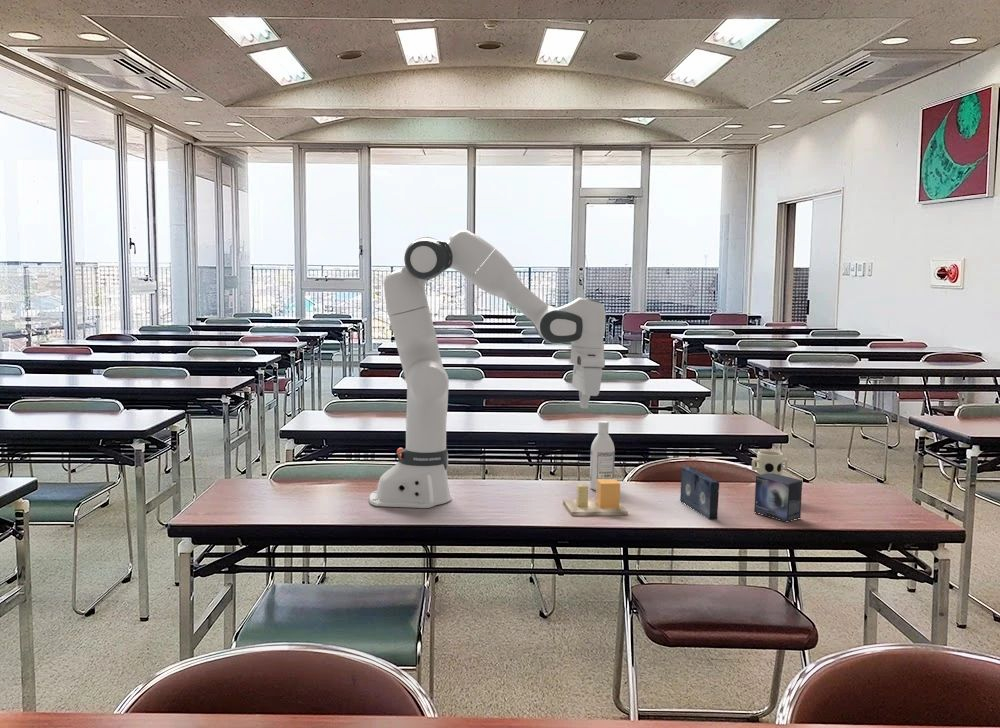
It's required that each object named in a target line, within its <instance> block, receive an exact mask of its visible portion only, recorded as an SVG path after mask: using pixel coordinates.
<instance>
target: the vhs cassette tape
mask: <svg viewBox="0 0 1000 728" xmlns="http://www.w3.org/2000/svg"><path fill="white" fill-rule="evenodd" d="M719 490H720V482H719V481H717V480H715V479H713V478H712V477H710V476H708V475H706V474H704V473H702V472H701V471H698V470H696V469H694V468H692V467H690V466H682V467H681V476H680V494H679V495H680V497H679V502H680V501H681V502H680V503H682V502H683V503H682V504H684V503H685V504H686V505H685V504H684V505H685V506H687V505H688V506H689V507H688V506H687V507H688V508H690V507H691V508H692V509H691V508H690V509H691V510H693V509H694V510H693V511H695V512H696V511H697V512H696V513H698V512H699V513H700V514H699V513H698V514H699V515H701V514H702V515H701V516H703V517H704V516H705V517H704V518H706V519H707V518H708V520H718V510H719V495H720V492H719Z"/></svg>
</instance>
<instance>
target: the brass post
mask: <svg viewBox="0 0 1000 728" xmlns="http://www.w3.org/2000/svg"><path fill="white" fill-rule="evenodd" d="M575 498H576V499H575V500H576V505H577V506H578V507H588V500H589V486H588V484H587V483H585V484H582V483H580V484H578V483H577V484H576V497H575Z"/></svg>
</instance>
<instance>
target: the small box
mask: <svg viewBox="0 0 1000 728" xmlns="http://www.w3.org/2000/svg"><path fill="white" fill-rule="evenodd" d="M754 490H755V491H754V509H753V512H756V513H760V514H763V515H767V516H770V517H774V518H777V519H780V520H783V521H791V520H794V519H798V518H801V519H802V517H801V515H802V513H801V512H802V511H801V510H802V494H803V493H802V492H803V491H802V490H803V480H802V479H799V478H794V477H790V476H785V475H782V474H781V475H778V474H774V473H766V474H762V475H760V474H757V475H755V489H754ZM756 513H755V514H756ZM760 514H759V515H760ZM763 515H762V516H763ZM767 516H766V517H767ZM770 517H769V518H770ZM777 519H776V520H777ZM780 520H779V521H780ZM798 520H799V519H798ZM783 521H782V522H783ZM791 522H792V521H791Z"/></svg>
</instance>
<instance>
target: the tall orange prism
mask: <svg viewBox="0 0 1000 728" xmlns="http://www.w3.org/2000/svg"><path fill="white" fill-rule="evenodd" d="M595 495H596V496H595V500H596V504H597V505H598V506H599V507H600V508H619V504H620V503H621V501H620V500H621V499H620V498H621V483H620V482H619V481H618V480H617V479H616V478H614V479H597V484H596V490H595Z"/></svg>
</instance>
